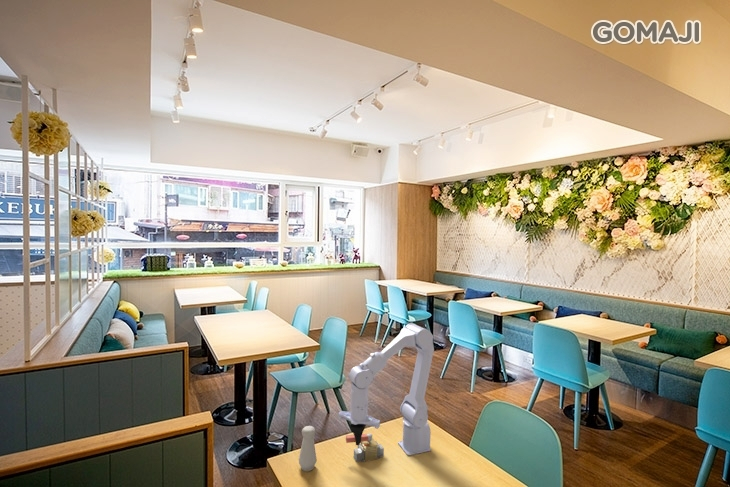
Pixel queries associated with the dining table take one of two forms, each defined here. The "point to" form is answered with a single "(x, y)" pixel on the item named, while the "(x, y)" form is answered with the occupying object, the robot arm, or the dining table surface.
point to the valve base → (368, 451)
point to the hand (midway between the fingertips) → (358, 443)
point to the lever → (363, 438)
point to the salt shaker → (308, 449)
